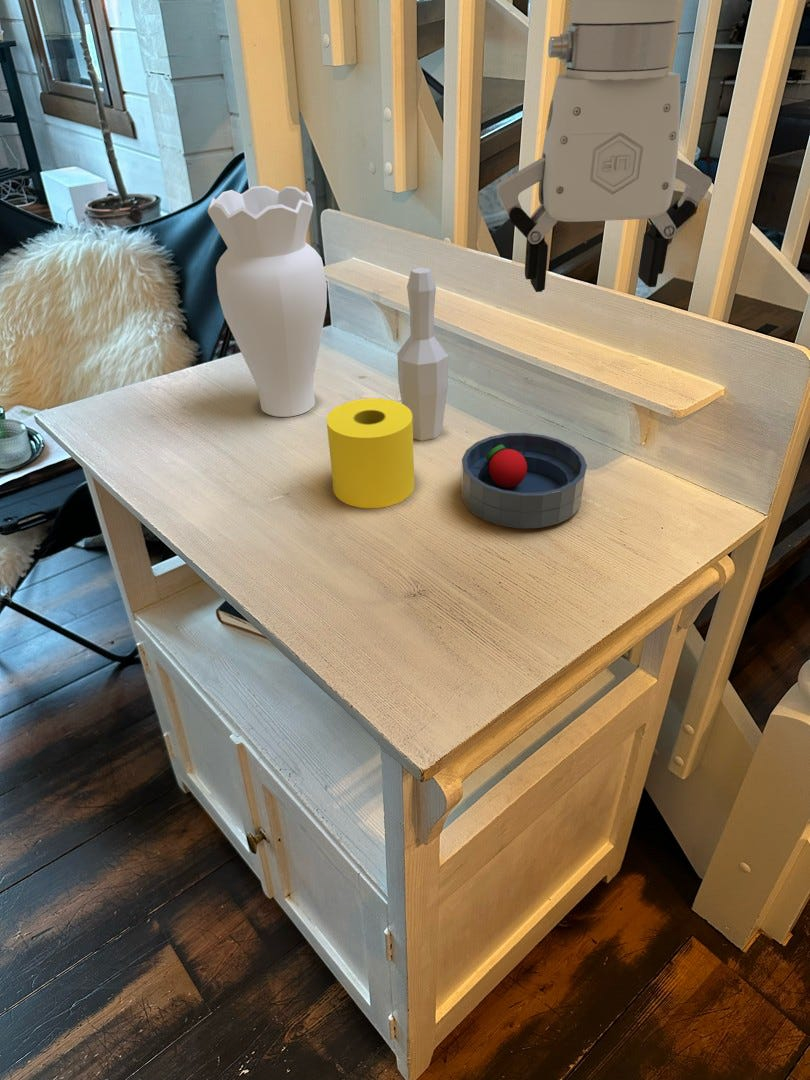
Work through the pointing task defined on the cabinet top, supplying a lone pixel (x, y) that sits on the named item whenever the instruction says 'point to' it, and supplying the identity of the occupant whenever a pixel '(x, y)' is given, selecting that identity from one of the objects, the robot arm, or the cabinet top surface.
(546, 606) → the cabinet top surface
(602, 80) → the robot arm
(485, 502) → the bowl
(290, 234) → the vase
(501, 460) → the toy tomato
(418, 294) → the faceted bottle
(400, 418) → the yellow toilet paper roll
